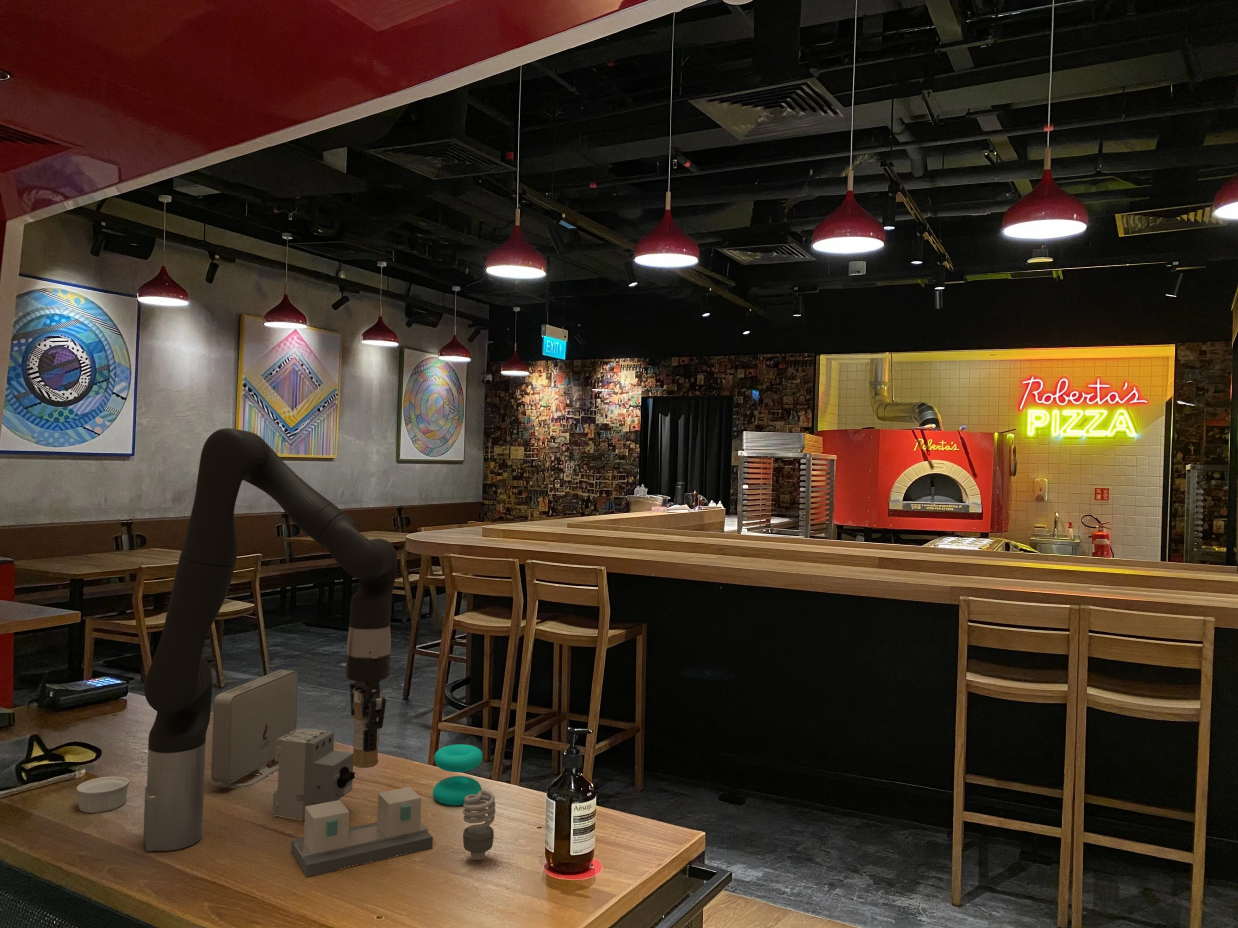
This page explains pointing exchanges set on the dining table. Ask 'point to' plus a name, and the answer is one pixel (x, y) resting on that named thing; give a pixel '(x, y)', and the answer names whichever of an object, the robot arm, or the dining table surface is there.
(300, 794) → the circuit breaker
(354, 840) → the din rail
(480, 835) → the light bulb
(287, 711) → the network device
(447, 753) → the donuts
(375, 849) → the mounting board
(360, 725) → the sprinkles bottle
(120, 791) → the ramekin
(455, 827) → the dining table surface
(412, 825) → the mounted modules
